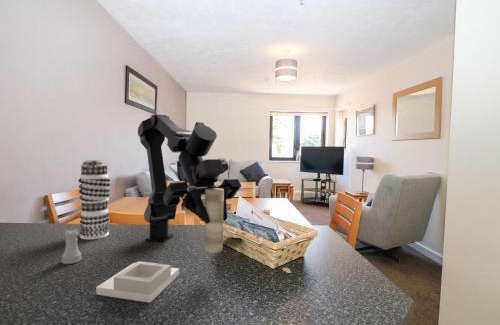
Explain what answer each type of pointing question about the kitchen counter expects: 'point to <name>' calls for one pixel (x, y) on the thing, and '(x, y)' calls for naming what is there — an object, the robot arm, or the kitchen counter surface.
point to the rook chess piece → (71, 248)
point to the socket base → (139, 281)
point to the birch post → (214, 220)
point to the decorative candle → (94, 199)
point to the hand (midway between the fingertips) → (217, 221)
